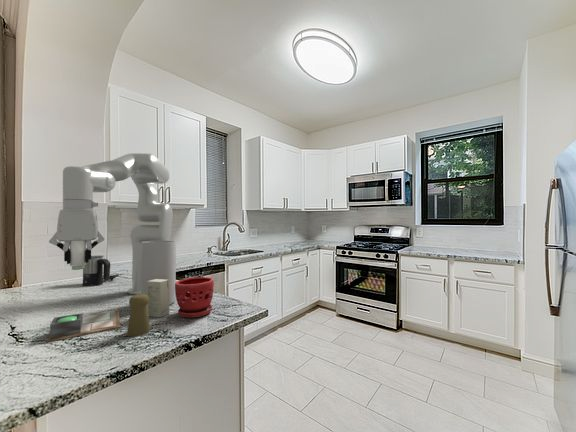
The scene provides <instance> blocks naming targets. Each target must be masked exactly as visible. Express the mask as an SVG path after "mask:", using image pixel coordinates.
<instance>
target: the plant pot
mask: <svg viewBox="0 0 576 432" xmlns="http://www.w3.org/2000/svg"><path fill="white" fill-rule="evenodd" d="M213 297H214V278H211V277H208V276H207V277H204V276H203V277H199V276H198V277H190V278H184V279H180V280H178V281H176V283H175V301H176V303H177V305H178V307H179V309H178V310H177V313H178V314H179V315H180V316H182V317H183V318H186V319H187V318H199V317H203V316H205V315H207V314H209V313H210V312H211V311H212V310H213V305H212V304H211V303H212V301H213Z"/></svg>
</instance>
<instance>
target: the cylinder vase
mask: <svg viewBox="0 0 576 432" xmlns="http://www.w3.org/2000/svg"><path fill="white" fill-rule="evenodd" d="M176 264H177V241H176V240H170V241H145V242H142V253H141V294H146V295H147V281H150V280H154V279H166V280H169V306H171V305H172V304H174V303H175V301H176V294H175V283H176V282H177V281H176V276H177V275H176V273H177V271H176V268H177V265H176Z"/></svg>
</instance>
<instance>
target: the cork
mask: <svg viewBox="0 0 576 432" xmlns="http://www.w3.org/2000/svg"><path fill="white" fill-rule="evenodd" d="M148 303H149V297H148V295H146V294H133V295H131V297H130V298H129V300H128V305H129V306H130V312H129V319H128V326H127V333H126V336H128V337H139V336H144V335H146V334H148V333H149V332H150V331H151V328H150V318H149V316H148V310H147V304H148Z"/></svg>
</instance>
